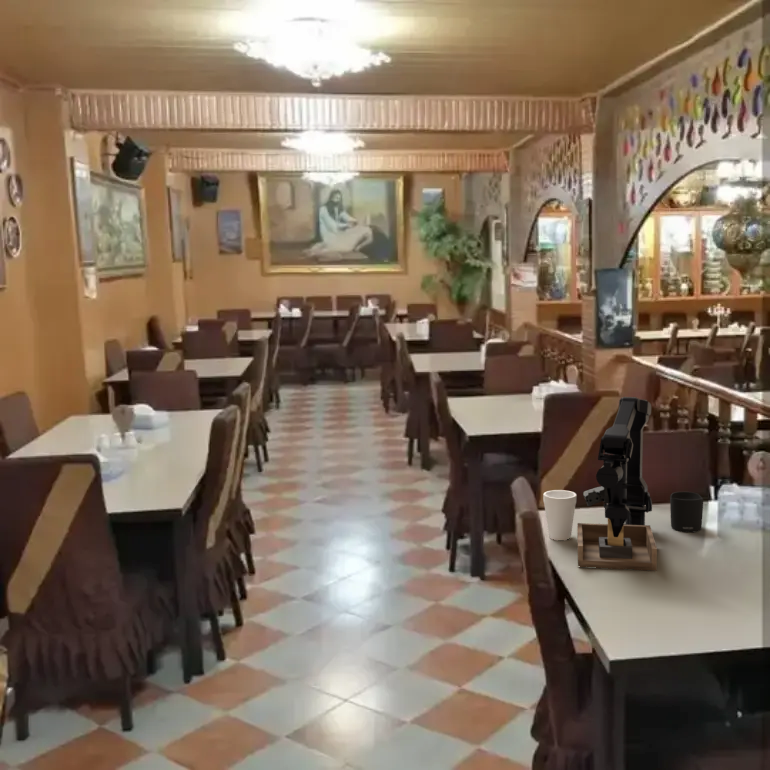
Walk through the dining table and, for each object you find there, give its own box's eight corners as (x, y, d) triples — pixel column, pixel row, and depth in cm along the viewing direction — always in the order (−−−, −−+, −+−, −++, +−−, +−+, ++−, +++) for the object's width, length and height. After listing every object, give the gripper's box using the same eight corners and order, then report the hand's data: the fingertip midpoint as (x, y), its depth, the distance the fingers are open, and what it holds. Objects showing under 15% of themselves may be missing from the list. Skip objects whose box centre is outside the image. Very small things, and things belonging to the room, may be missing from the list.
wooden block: (607, 540, 244) (607, 512, 243) (622, 541, 244) (622, 513, 242) (608, 545, 241) (608, 517, 239) (623, 546, 240) (623, 517, 239)
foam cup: (573, 543, 254) (573, 499, 252) (541, 541, 257) (541, 497, 255) (577, 533, 263) (577, 491, 261) (546, 531, 266) (546, 489, 264)
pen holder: (663, 528, 266) (664, 496, 264) (679, 521, 272) (680, 489, 270) (692, 535, 259) (693, 502, 257) (708, 527, 265) (709, 495, 263)
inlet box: (577, 543, 254) (577, 523, 253) (649, 545, 250) (650, 525, 249) (578, 567, 235) (578, 545, 234) (656, 570, 231) (656, 548, 230)
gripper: (584, 469, 250) (584, 523, 252) (585, 487, 232) (585, 544, 234) (625, 470, 248) (624, 524, 250) (629, 488, 230) (629, 546, 232)
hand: (615, 534), depth 242 cm, fingers closed on wooden block, 4 cm apart
